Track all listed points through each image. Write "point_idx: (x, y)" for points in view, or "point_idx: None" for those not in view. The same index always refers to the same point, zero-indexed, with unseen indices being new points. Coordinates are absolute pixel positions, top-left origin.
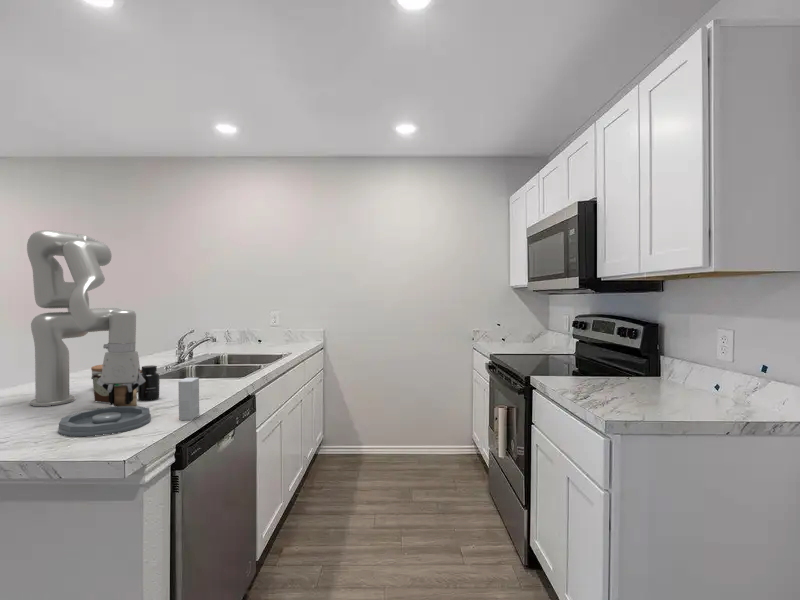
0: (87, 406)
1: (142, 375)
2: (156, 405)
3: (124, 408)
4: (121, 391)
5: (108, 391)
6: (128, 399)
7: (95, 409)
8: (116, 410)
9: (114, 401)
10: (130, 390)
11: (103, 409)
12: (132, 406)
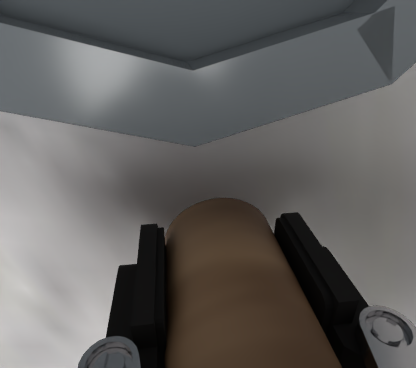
0: (407, 318)
1: None
2: (19, 324)
3: (103, 47)
4: (225, 324)
5: (391, 322)
6: (138, 255)
7: (407, 30)
8: (197, 60)
9: (272, 235)
10: (110, 365)
11: (328, 26)
12: (22, 91)
